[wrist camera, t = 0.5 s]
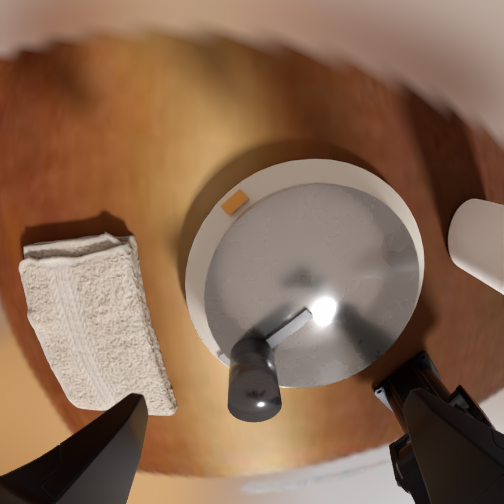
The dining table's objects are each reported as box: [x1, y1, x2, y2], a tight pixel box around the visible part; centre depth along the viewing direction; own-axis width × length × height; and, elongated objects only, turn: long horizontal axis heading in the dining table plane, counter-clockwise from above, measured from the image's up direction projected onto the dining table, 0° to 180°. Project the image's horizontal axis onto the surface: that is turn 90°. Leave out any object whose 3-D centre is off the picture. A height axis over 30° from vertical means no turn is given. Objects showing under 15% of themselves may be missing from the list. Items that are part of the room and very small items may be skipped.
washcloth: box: [19, 232, 179, 416], centre depth 21 cm, size 12×18×3 cm, turn 5°
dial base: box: [185, 159, 424, 388], centre depth 21 cm, size 18×18×2 cm
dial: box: [204, 182, 419, 422], centre depth 17 cm, size 15×15×6 cm
